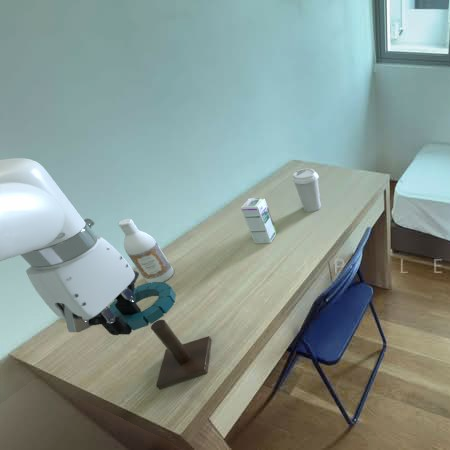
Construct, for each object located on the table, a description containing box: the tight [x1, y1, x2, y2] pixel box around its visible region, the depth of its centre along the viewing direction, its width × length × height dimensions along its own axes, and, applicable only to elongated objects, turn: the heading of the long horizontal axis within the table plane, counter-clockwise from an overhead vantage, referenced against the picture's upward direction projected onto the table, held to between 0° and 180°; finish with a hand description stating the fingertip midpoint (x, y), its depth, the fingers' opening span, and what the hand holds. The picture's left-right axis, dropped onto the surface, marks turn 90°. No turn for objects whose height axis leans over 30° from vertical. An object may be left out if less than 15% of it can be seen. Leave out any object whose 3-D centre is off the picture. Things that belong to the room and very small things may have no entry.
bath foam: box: [117, 218, 175, 283], centre depth 86 cm, size 7×7×20 cm
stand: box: [150, 319, 212, 390], centre depth 65 cm, size 9×9×14 cm
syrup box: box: [240, 197, 278, 244], centre depth 102 cm, size 6×6×14 cm
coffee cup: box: [291, 168, 322, 213], centre depth 118 cm, size 10×10×15 cm
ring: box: [108, 281, 177, 332], centre depth 57 cm, size 10×10×2 cm
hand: (129, 325), depth 55 cm, fingers closed on ring, 2 cm apart
